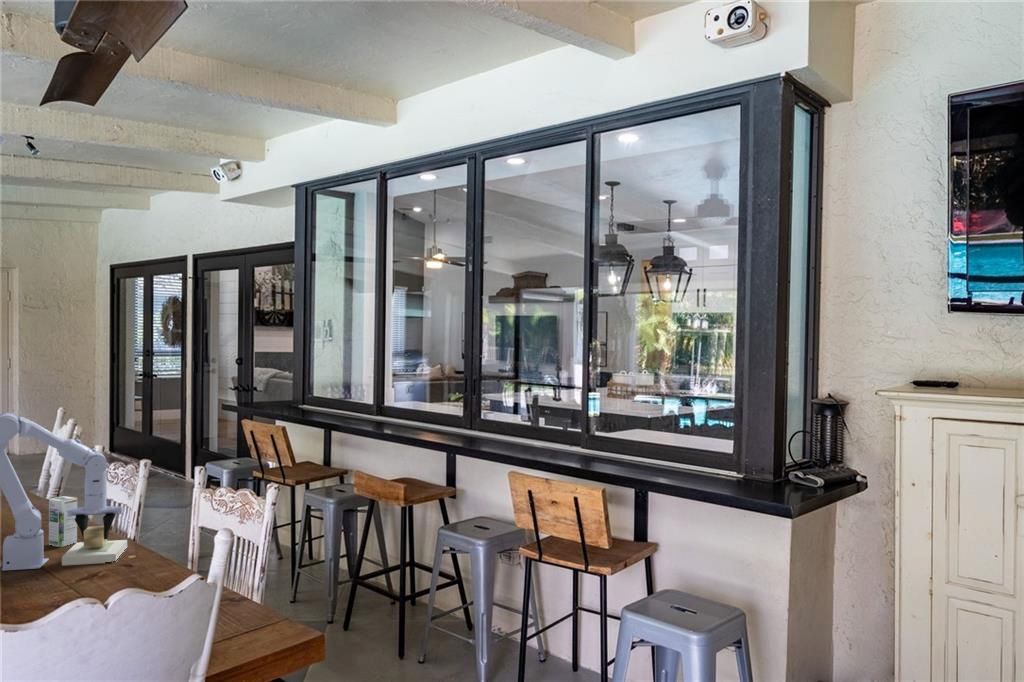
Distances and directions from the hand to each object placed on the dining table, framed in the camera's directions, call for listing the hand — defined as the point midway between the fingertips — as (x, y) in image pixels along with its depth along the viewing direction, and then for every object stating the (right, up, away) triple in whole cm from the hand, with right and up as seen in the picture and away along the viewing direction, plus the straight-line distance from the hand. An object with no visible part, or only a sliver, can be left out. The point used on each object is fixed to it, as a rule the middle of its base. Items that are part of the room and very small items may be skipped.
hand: (95, 539), depth 225 cm
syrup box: (-16, -5, +11) cm, 21 cm away
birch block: (0, -2, 0) cm, 2 cm away
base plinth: (0, -5, 0) cm, 5 cm away
